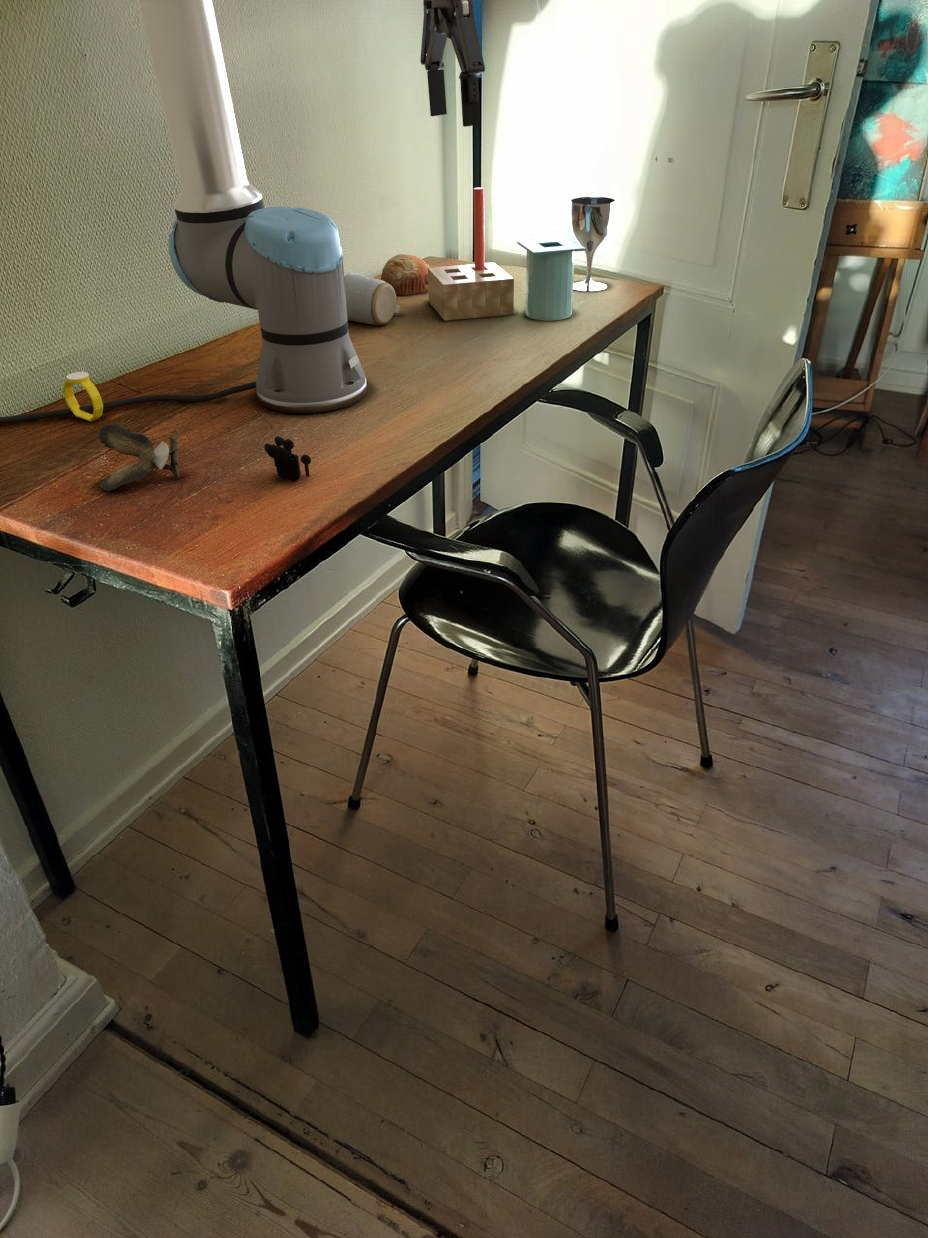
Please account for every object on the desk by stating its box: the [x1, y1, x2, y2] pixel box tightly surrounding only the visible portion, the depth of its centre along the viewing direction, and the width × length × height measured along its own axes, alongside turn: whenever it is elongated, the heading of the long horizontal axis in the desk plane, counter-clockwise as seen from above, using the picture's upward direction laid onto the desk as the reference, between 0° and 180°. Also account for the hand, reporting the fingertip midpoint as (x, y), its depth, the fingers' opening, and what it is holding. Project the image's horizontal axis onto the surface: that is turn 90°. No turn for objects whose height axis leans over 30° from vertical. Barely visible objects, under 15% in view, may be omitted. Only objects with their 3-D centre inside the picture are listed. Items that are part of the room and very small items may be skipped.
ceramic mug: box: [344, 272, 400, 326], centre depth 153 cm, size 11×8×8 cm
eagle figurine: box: [97, 422, 181, 492], centre depth 102 cm, size 8×7×9 cm
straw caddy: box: [427, 262, 515, 321], centre depth 158 cm, size 12×12×6 cm
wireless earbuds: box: [264, 435, 312, 482], centre depth 102 cm, size 7×2×5 cm, turn 55°
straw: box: [473, 186, 486, 271], centre depth 157 cm, size 2×2×19 cm
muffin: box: [380, 253, 431, 296], centre depth 171 cm, size 10×10×8 cm
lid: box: [516, 236, 586, 255], centre depth 150 cm, size 9×9×1 cm
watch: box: [62, 371, 104, 423], centre depth 118 cm, size 6×3×6 cm, turn 58°
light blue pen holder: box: [525, 244, 576, 322], centre depth 153 cm, size 8×8×11 cm
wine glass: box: [569, 196, 616, 292], centre depth 166 cm, size 8×8×15 cm
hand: (454, 120), depth 147 cm, fingers open, 13 cm apart
